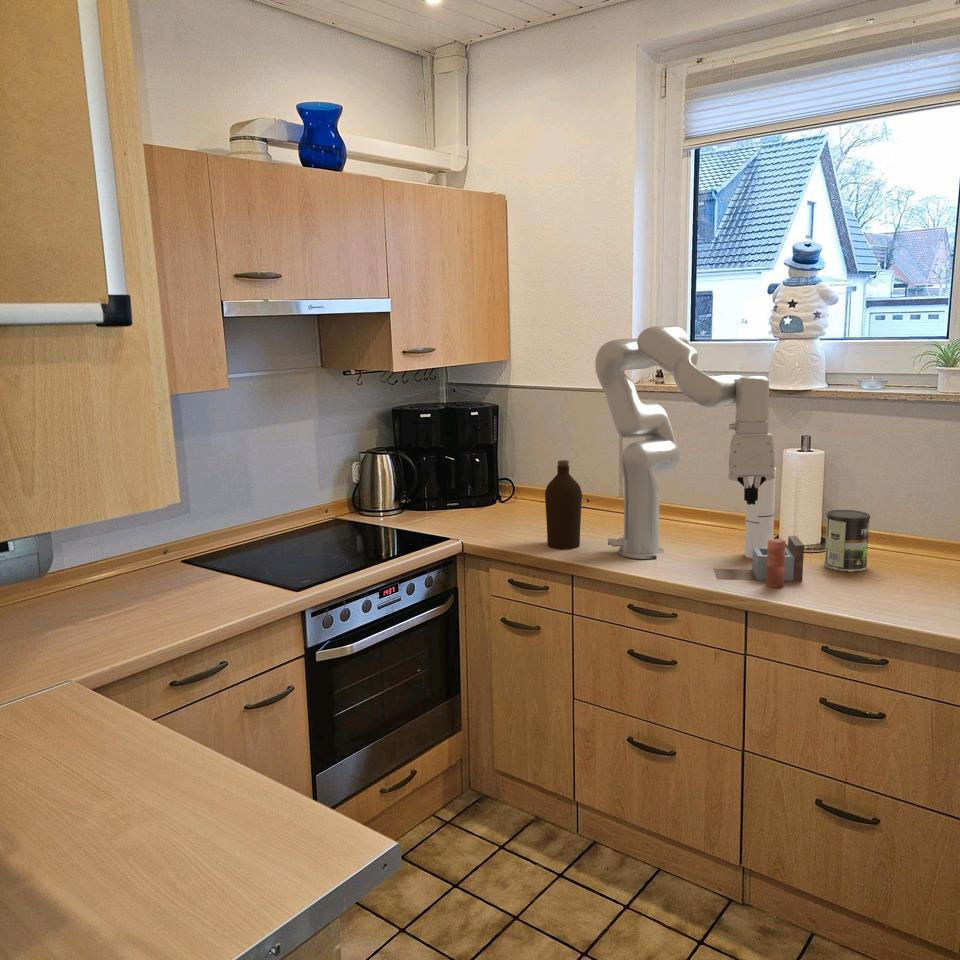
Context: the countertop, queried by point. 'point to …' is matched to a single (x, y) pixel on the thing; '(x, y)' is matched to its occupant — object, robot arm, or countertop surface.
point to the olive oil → (563, 509)
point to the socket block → (761, 564)
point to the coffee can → (847, 540)
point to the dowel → (775, 563)
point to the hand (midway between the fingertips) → (750, 503)
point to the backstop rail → (743, 574)
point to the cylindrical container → (760, 517)
